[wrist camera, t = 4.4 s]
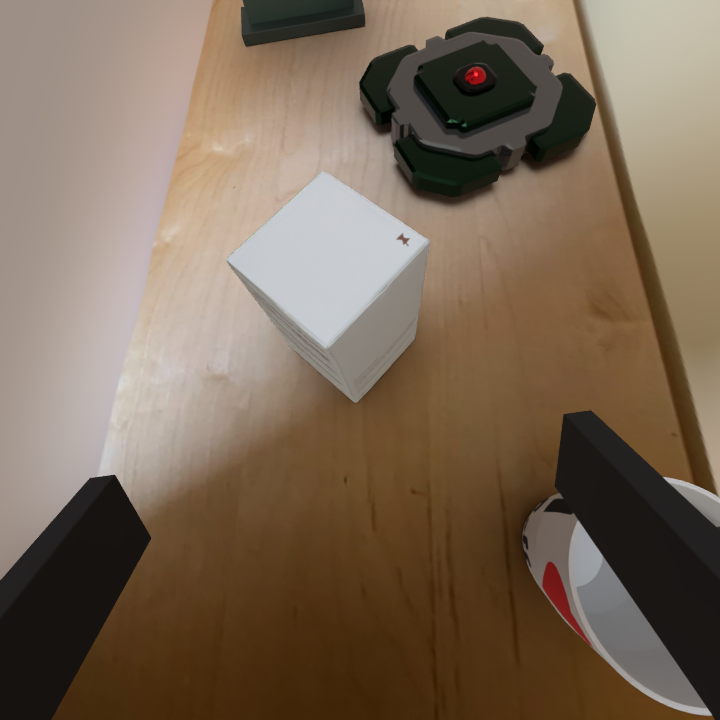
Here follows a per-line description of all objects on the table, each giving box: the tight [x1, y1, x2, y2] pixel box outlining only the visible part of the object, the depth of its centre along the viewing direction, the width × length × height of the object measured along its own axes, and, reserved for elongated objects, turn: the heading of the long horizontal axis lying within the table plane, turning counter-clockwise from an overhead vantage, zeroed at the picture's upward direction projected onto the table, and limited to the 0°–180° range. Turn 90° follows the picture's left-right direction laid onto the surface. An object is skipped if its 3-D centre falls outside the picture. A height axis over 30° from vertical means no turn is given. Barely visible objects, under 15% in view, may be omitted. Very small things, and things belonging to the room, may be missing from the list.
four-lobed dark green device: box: [359, 17, 596, 197], centre depth 34 cm, size 18×18×5 cm
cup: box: [522, 477, 720, 715], centre depth 19 cm, size 8×8×10 cm
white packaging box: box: [226, 171, 430, 403], centre depth 23 cm, size 7×7×13 cm
